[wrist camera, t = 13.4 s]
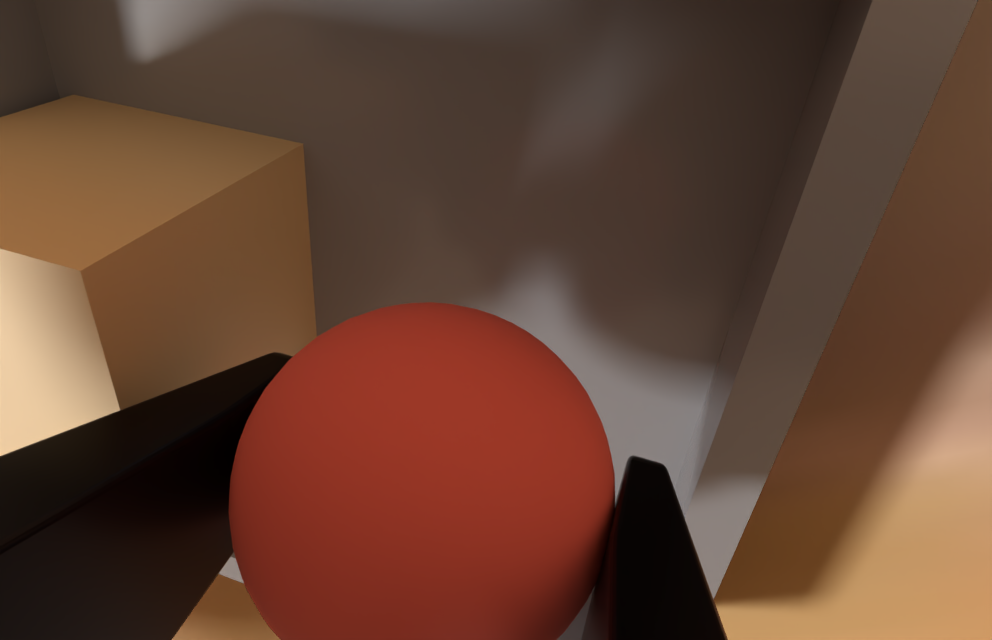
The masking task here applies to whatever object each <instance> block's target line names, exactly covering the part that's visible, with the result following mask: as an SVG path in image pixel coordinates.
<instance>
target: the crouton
mask: <svg viewBox="0 0 992 640" xmlns="http://www.w3.org/2000/svg"><path fill="white" fill-rule="evenodd" d="M316 337H317V332H316V318H315V304H314V290H313V276H312V262H311V247H310V233H309V219H308V205H307V191H306V177H305V163H304V149H303V143H298V142H293V141H289V140H284V139H279V138H275V137H270V136H265V135H260V134H256V133H251V132H246V131H242V130H237V129H232V128H228V127H223V126H218V125H214V124H209V123H204V122H200V121H195V120H190V119H185V118H181V117H176V116H171V115H167V114H162V113H157V112H153V111H148V110H143V109H139V108H134V107H129V106H125V105H120V104H115V103H110V102H106V101H101V100H96V99H92V98H87V97H82V96H78V95H71V96H67V97H64V98H61V99H58V100H55V101H51V102H48V103H45V104H42V105H38V106H35V107H32V108H29V109H26V110H22V111H19V112H16V113H13V114H10V115H6V116H3V117H0V456H2V455H4V454H7V453H9V452H12V451H15V450H17V449H20V448H22V447H25V446H28V445H30V444H33V443H36V442H38V441H41V440H43V439H46V438H49V437H51V436H54V435H57V434H59V433H62V432H64V431H67V430H70V429H72V428H75V427H78V426H80V425H83V424H85V423H88V422H91V421H93V420H96V419H99V418H101V417H104V416H106V415H109V414H112V413H114V412H117V411H119V410H122V409H125V408H127V407H130V406H133V405H135V404H138V403H140V402H143V401H146V400H148V399H151V398H154V397H156V396H159V395H161V394H164V393H167V392H169V391H172V390H174V389H177V388H180V387H182V386H185V385H188V384H190V383H193V382H195V381H198V380H201V379H203V378H206V377H208V376H211V375H214V374H216V373H219V372H222V371H224V370H227V369H229V368H232V367H235V366H237V365H240V364H243V363H245V362H248V361H250V360H253V359H256V358H258V357H261V356H263V355H266V354H269V353H272V352H280V353H283V354H287V355H290V356H294V355H295V354H297V353H298V352H299V351H300V350H301V349H303V348H304V347H305V346H306V345H307V344H309V343H310V342H311V341H312V340H314V339H315V338H316Z"/></svg>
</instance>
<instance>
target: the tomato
mask: <svg viewBox="0 0 992 640" xmlns="http://www.w3.org/2000/svg"><path fill="white" fill-rule="evenodd" d="M614 512H615V473H614V467H613V462H612V457H611V452H610V447H609V443H608V439H607V436H606V433H605V430H604V427H603V424H602V422H601V419H600V417H599V415H598V413H597V411H596V409H595V407H594V405H593V403H592V401H591V399H590V397H589V395H588V393H587V392H586V390H585V389H584V387H583V386H582V384H581V383H580V381H579V380H578V379H577V377H576V376H575V375H574V374H573V372H572V371H571V370H570V369H569V368H568V367H567V366H566V364H565V363H564V362H563V361H562V360H561V359H560V358H559V357H558V356H557V355H556V354H555V353H554V352H553V351H552V350H551V349H549V348H548V347H547V346H546V345H545V344H544V343H543V342H541V341H540V340H539V339H537V338H536V337H534V336H533V335H532V334H530V333H529V332H527V331H526V330H524V329H522V328H520V327H519V326H517V325H515V324H513V323H512V322H509V321H507V320H505V319H503V318H500V317H498V316H496V315H493V314H490V313H487V312H484V311H481V310H478V309H474V308H469V307H464V306H459V305H454V304H447V303H435V302H425V303H408V304H399V305H394V306H388V307H383V308H379V309H376V310H373V311H370V312H367V313H365V314H362V315H359V316H356V317H353V318H350V319H348V320H346V321H344V322H342V323H340V324H338V325H337V326H335V327H333V328H331V329H329V330H328V331H326V332H324V333H323V334H321V335H319V336H317V337H316V338H315V339H314V340H312V341H311V342H310V343H309V344H307V345H306V346H305V347H304V348H303V349H301V350H300V351H299V352H298V353H297V354H295V355H294V356H293V357H292V358H291V359H290V360H289V361H288V362H287V363H286V364H285V365H284V366H283V368H282V369H281V370H280V371H279V372H278V374H277V375H276V376H275V377H274V378H273V380H272V381H271V382H270V383H269V384H268V386H267V387H266V388H265V390H264V391H263V393H262V395H261V396H260V398H259V400H258V401H257V403H256V405H255V406H254V408H253V410H252V412H251V414H250V416H249V418H248V420H247V422H246V425H245V427H244V430H243V432H242V435H241V437H240V440H239V443H238V447H237V450H236V454H235V458H234V463H233V467H232V472H231V477H230V490H229V522H230V531H231V538H232V546H233V550H234V554H235V558H236V561H237V564H238V567H239V570H240V573H241V577H242V580H243V582H244V584H245V587H246V589H247V591H248V593H249V595H250V597H251V598H252V600H253V602H254V604H255V605H256V607H257V609H258V611H259V612H260V614H261V616H262V617H263V619H264V620H265V622H266V623H267V624H268V626H269V627H270V628H271V629H272V631H273V632H274V633H275V634H276V635H277V636H278V637H279V638H280V639H281V640H557V639H558V638H559V637H560V636H561V635H562V634H563V633H564V632H565V631H566V629H567V628H568V627H569V625H570V624H571V623H572V621H573V620H574V619H575V618H576V616H577V615H578V613H579V612H580V610H581V609H582V608H583V606H584V605H585V603H586V602H587V600H588V598H589V596H590V594H591V592H592V590H593V588H594V586H595V585H596V582H597V579H598V576H599V573H600V569H601V565H602V561H603V557H604V554H605V550H606V546H607V542H608V538H609V534H610V529H611V525H612V521H613V517H614Z"/></svg>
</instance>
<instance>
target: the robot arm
mask: <svg viewBox="0 0 992 640" xmlns="http://www.w3.org/2000/svg"><path fill="white" fill-rule="evenodd" d="M292 357H293V356H290V355H287V354H283V353H280V352H272V353H269V354H266V355H263V356H261V357H258V358H256V359H253V360H250V361H248V362H245V363H243V364H240V365H237V366H235V367H232V368H229V369H227V370H224V371H222V372H219V373H216V374H214V375H211V376H208V377H206V378H203V379H201V380H198V381H195V382H193V383H190V384H188V385H185V386H182V387H180V388H177V389H174V390H172V391H169V392H167V393H164V394H161V395H159V396H156V397H154V398H151V399H148V400H146V401H143V402H140V403H138V404H135V405H133V406H130V407H127V408H125V409H122V410H119V411H117V412H114V413H112V414H109V415H106V416H104V417H101V418H99V419H96V420H93V421H91V422H88V423H85V424H83V425H80V426H78V427H75V428H72V429H70V430H67V431H64V432H62V433H59V434H57V435H54V436H51V437H49V438H46V439H43V440H41V441H38V442H36V443H33V444H30V445H28V446H25V447H22V448H20V449H17V450H15V451H12V452H9V453H7V454H4V455H2V456H0V640H172V638H173V637H174V636H175V634H176V633H177V631H178V630H179V629H180V627H181V626H182V624H183V623H184V622H185V620H186V619H187V617H188V616H189V615H190V613H191V612H192V610H193V609H194V608H195V606H196V605H197V603H198V602H199V601H200V599H201V598H202V596H203V595H204V594H205V592H206V591H207V589H208V588H209V587H210V585H211V584H212V582H213V581H214V579H215V578H216V577H217V575H218V574H219V572H220V571H221V570H222V568H223V567H224V565H225V564H226V563H227V561H228V560H229V558H230V557H231V556H232V554H233V553H234V550H233V546H232V538H231V531H230V522H229V490H230V477H231V472H232V467H233V463H234V458H235V454H236V450H237V447H238V443H239V440H240V437H241V435H242V432H243V430H244V427H245V425H246V422H247V420H248V418H249V416H250V414H251V412H252V410H253V408H254V406H255V405H256V403H257V401H258V400H259V398H260V396H261V395H262V393H263V391H264V390H265V388H266V387H267V386H268V384H269V383H270V382H271V381H272V380H273V378H274V377H275V376H276V375H277V374H278V372H279V371H280V370H281V369H282V368H283V366H284V365H285V364H286V363H287V362H288V361H289V360H290V359H291V358H292ZM582 640H728V639H727V636H726V633H725V631H724V628H723V625H722V622H721V619H720V616H719V614H718V611H717V608H716V605H715V602H714V599H713V597H712V594H711V591H710V588H709V585H708V582H707V580H706V577H705V574H704V571H703V568H702V566H701V563H700V560H699V557H698V554H697V551H696V549H695V546H694V543H693V540H692V537H691V534H690V532H689V529H688V526H687V523H686V520H685V518H684V515H683V512H682V509H681V506H680V503H679V501H678V498H677V495H676V492H675V489H674V486H673V484H672V481H671V478H670V475H669V472H668V470H667V468H666V466H664V465H663V464H662V463H659V462H656V461H652V460H649V459H645V458H642V457H638V456H634V455H633V456H630V457H629V458H628V460H627V462H626V466H625V469H624V473H623V476H622V480H621V484H620V487H619V491H618V495H617V498H616V502H615V512H614V517H613V521H612V525H611V529H610V534H609V538H608V542H607V546H606V550H605V554H604V557H603V561H602V565H601V569H600V573H599V576H598V579H597V582H596V585H595V586H594V589H593V593H592V597H591V602H590V606H589V610H588V614H587V618H586V622H585V626H584V630H583V635H582Z"/></svg>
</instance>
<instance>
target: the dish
mask: <svg viewBox="0 0 992 640" xmlns="http://www.w3.org/2000/svg"><path fill="white" fill-rule="evenodd" d="M977 1H978V0H0V117H3V116H6V115H10V114H13V113H16V112H19V111H22V110H26V109H29V108H32V107H35V106H38V105H42V104H45V103H48V102H51V101H55V100H58V99H61V98H64V97H67V96H71V95H78V96H82V97H87V98H92V99H96V100H101V101H106V102H110V103H115V104H120V105H125V106H129V107H134V108H139V109H143V110H148V111H153V112H157V113H162V114H167V115H171V116H176V117H181V118H185V119H190V120H195V121H200V122H204V123H209V124H214V125H218V126H223V127H228V128H232V129H237V130H242V131H246V132H251V133H256V134H260V135H265V136H270V137H275V138H279V139H284V140H289V141H293V142H298V143H303V149H304V163H305V177H306V191H307V205H308V219H309V233H310V247H311V262H312V276H313V290H314V304H315V318H316V332H317V336H319V335H321V334H323V333H324V332H326V331H328V330H329V329H331V328H333V327H335V326H337V325H338V324H340V323H342V322H344V321H346V320H348V319H350V318H353V317H356V316H359V315H362V314H365V313H367V312H370V311H373V310H376V309H379V308H383V307H388V306H394V305H399V304H408V303H425V302H435V303H447V304H454V305H459V306H464V307H469V308H474V309H478V310H481V311H484V312H487V313H490V314H493V315H496V316H498V317H500V318H503V319H505V320H507V321H509V322H512V323H513V324H515V325H517V326H519V327H520V328H522V329H524V330H526V331H527V332H529V333H530V334H532V335H533V336H534V337H536V338H537V339H539V340H540V341H541V342H543V343H544V344H545V345H546V346H547V347H548V348H549V349H551V350H552V351H553V352H554V353H555V354H556V355H557V356H558V357H559V358H560V359H561V360H562V361H563V362H564V363H565V364H566V366H567V367H568V368H569V369H570V370H571V371H572V372H573V374H574V375H575V376H576V377H577V379H578V380H579V381H580V383H581V384H582V386H583V387H584V389H585V390H586V392H587V393H588V395H589V397H590V399H591V401H592V403H593V405H594V407H595V409H596V411H597V413H598V415H599V417H600V419H601V422H602V424H603V427H604V430H605V433H606V436H607V439H608V443H609V447H610V452H611V457H612V462H613V467H614V473H615V502H616V498H617V495H618V491H619V487H620V484H621V480H622V476H623V473H624V469H625V466H626V462H627V460H628V458H629V457H630V456H633V455H634V456H638V457H642V458H645V459H649V460H652V461H656V462H659V463H662V464H663V465H664V466H666V468H667V470H668V472H669V475H670V478H671V481H672V484H673V486H674V489H675V492H676V495H677V498H678V501H679V503H680V506H681V509H682V512H683V515H684V518H685V520H686V523H687V526H688V529H689V532H690V534H691V537H692V540H693V543H694V546H695V549H696V551H697V554H698V557H699V560H700V563H701V566H702V568H703V571H704V574H705V577H706V580H707V582H708V585H709V588H710V591H711V594H712V597H713V599H714V597H715V595H716V593H717V590H718V588H719V586H720V584H721V581H722V579H723V577H724V575H725V572H726V570H727V568H728V566H729V563H730V561H731V559H732V556H733V554H734V552H735V550H736V547H737V545H738V543H739V541H740V538H741V536H742V534H743V532H744V529H745V527H746V525H747V522H748V520H749V518H750V516H751V513H752V511H753V509H754V507H755V504H756V502H757V500H758V498H759V495H760V493H761V491H762V488H763V486H764V484H765V482H766V479H767V477H768V475H769V473H770V470H771V468H772V466H773V464H774V461H775V459H776V457H777V454H778V452H779V450H780V448H781V445H782V443H783V441H784V439H785V436H786V434H787V432H788V430H789V427H790V425H791V423H792V421H793V418H794V416H795V414H796V411H797V409H798V407H799V405H800V402H801V400H802V398H803V396H804V393H805V391H806V389H807V387H808V384H809V382H810V380H811V377H812V375H813V373H814V371H815V368H816V366H817V364H818V362H819V359H820V357H821V355H822V353H823V350H824V348H825V346H826V343H827V341H828V339H829V337H830V334H831V332H832V330H833V328H834V325H835V323H836V321H837V319H838V316H839V314H840V312H841V309H842V307H843V305H844V303H845V300H846V298H847V296H848V294H849V291H850V289H851V287H852V285H853V282H854V280H855V278H856V276H857V273H858V271H859V269H860V266H861V264H862V262H863V260H864V257H865V255H866V253H867V251H868V248H869V246H870V244H871V242H872V239H873V237H874V235H875V232H876V230H877V228H878V226H879V223H880V221H881V219H882V217H883V214H884V212H885V210H886V208H887V205H888V203H889V201H890V198H891V196H892V194H893V192H894V189H895V187H896V185H897V183H898V180H899V178H900V176H901V174H902V171H903V169H904V167H905V164H906V162H907V160H908V158H909V155H910V153H911V151H912V149H913V146H914V144H915V142H916V140H917V137H918V135H919V133H920V131H921V128H922V126H923V124H924V121H925V119H926V117H927V115H928V112H929V110H930V108H931V106H932V103H933V101H934V99H935V97H936V94H937V92H938V90H939V87H940V85H941V83H942V81H943V78H944V76H945V74H946V72H947V69H948V67H949V65H950V63H951V60H952V58H953V56H954V53H955V51H956V49H957V47H958V44H959V42H960V40H961V38H962V35H963V33H964V31H965V29H966V26H967V24H968V22H969V19H970V17H971V15H972V13H973V10H974V8H975V6H976V4H977ZM219 574H220V575H223V576H225V577H228V578H231V579H233V580H236V581H239V582H241V583H244V582H243V580H242V577H241V573H240V570H239V567H238V564H237V561H236V558H235V554H234V553H233V554H232V556H231V557H230V558H229V560H228V561H227V563H226V564H225V565H224V567H223V568H222V570H221V571H220V572H219ZM593 589H594V588H593ZM592 593H593V590H592V592H591V594H590V596H589V598H588V600H587V602H586V603H585V605H584V606H583V608H582V609H581V610H580V612H579V613H578V615H577V616H576V618H575V619H574V620H573V621H572V623H571V624H570V625H569V627H568V628H567V629H566V631H565V632H564V633H563V634H562V635H561V636H560V637H559V638H558V639H557V640H582V635H583V630H584V626H585V622H586V618H587V614H588V610H589V606H590V602H591V597H592Z"/></svg>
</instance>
